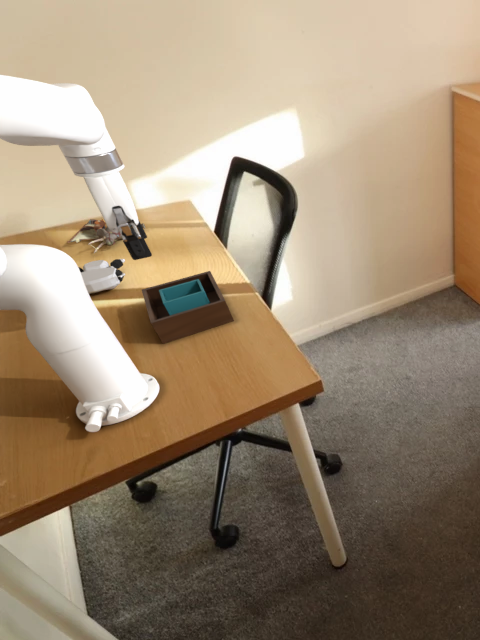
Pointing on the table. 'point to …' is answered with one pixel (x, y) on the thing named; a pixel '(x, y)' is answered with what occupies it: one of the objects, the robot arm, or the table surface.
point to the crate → (190, 319)
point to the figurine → (98, 233)
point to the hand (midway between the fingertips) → (140, 248)
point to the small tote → (184, 297)
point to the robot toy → (102, 275)
